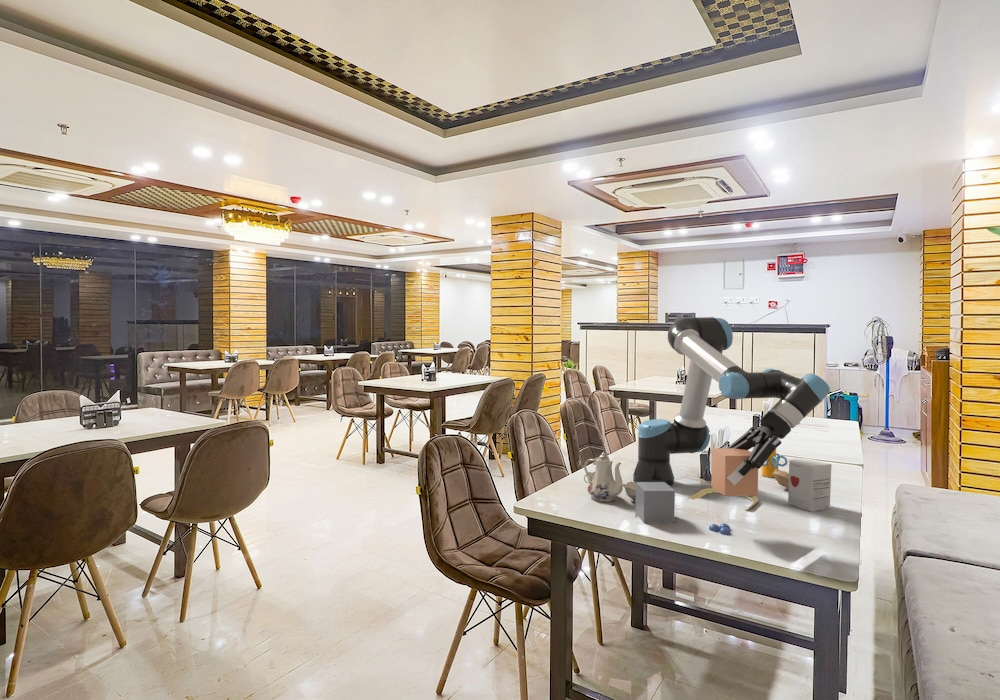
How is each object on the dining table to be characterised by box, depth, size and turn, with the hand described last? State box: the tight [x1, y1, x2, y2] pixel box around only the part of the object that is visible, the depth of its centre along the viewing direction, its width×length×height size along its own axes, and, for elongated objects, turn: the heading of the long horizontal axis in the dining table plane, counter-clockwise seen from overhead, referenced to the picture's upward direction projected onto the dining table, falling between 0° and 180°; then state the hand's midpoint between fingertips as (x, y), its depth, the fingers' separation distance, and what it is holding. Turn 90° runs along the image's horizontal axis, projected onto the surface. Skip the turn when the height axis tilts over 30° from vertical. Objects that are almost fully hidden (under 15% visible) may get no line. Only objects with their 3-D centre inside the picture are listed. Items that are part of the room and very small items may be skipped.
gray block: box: [634, 482, 676, 524], centre depth 161 cm, size 9×9×11 cm
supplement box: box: [787, 457, 833, 513], centre depth 176 cm, size 9×9×15 cm
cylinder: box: [758, 448, 788, 479], centre depth 213 cm, size 12×10×15 cm
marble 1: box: [708, 523, 720, 533], centre depth 151 cm, size 3×3×3 cm
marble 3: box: [718, 527, 732, 536], centre depth 149 cm, size 3×3×3 cm
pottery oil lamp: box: [773, 469, 789, 489], centre depth 194 cm, size 9×12×7 cm
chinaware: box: [583, 451, 636, 503], centre depth 186 cm, size 28×17×17 cm, turn 43°
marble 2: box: [718, 523, 731, 531], centre depth 152 cm, size 3×3×3 cm
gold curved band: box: [685, 487, 759, 512], centre depth 177 cm, size 19×35×2 cm, turn 139°
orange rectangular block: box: [710, 447, 759, 497], centre depth 149 cm, size 9×9×11 cm
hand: (722, 476), depth 149 cm, fingers closed on orange rectangular block, 9 cm apart
